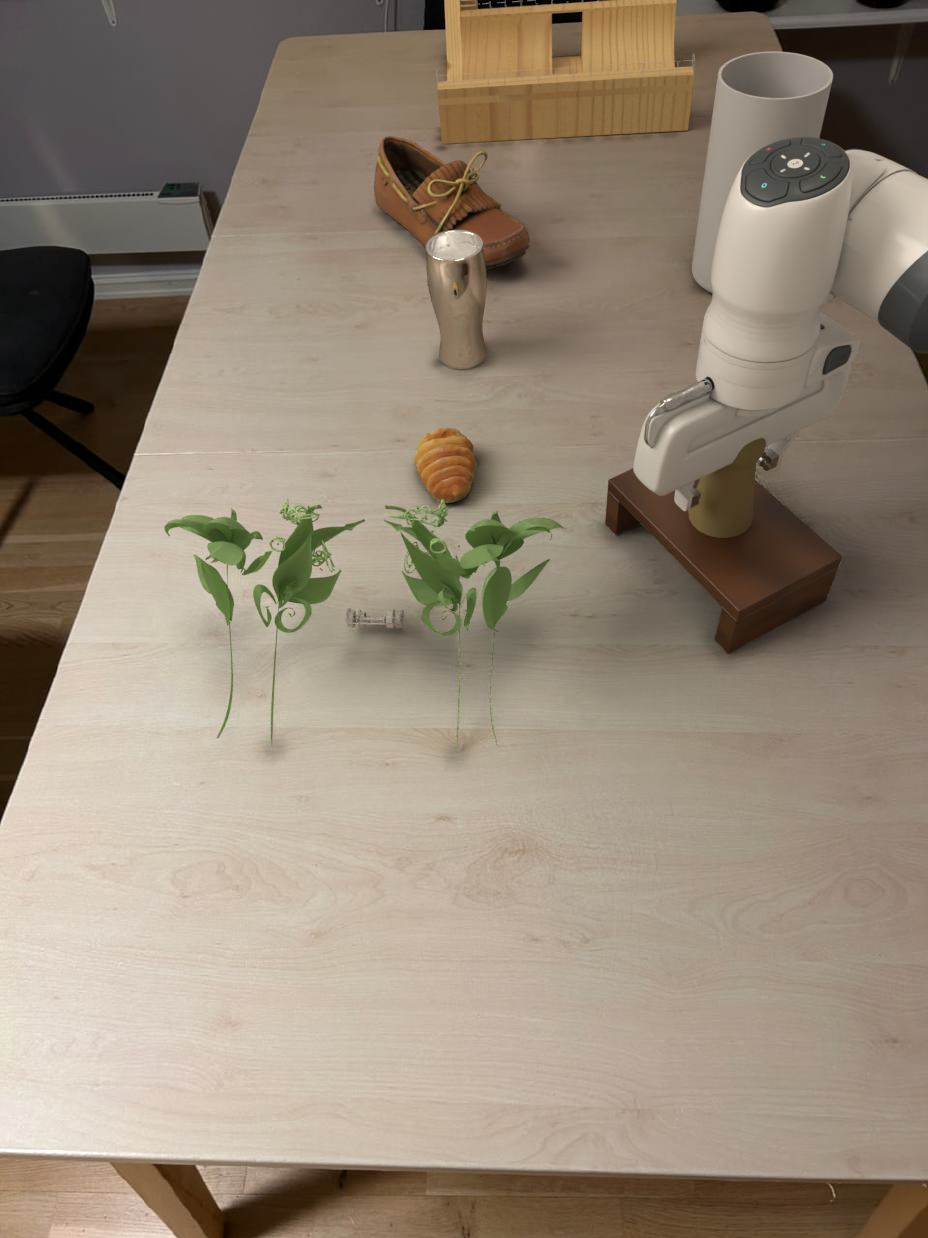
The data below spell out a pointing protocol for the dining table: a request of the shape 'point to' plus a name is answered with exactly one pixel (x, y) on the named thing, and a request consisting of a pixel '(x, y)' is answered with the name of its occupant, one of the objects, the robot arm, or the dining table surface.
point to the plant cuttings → (433, 568)
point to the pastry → (446, 464)
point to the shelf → (735, 557)
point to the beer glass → (458, 296)
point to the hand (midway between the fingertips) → (727, 484)
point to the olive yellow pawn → (728, 495)
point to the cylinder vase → (754, 128)
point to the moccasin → (444, 200)
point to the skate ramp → (561, 72)
